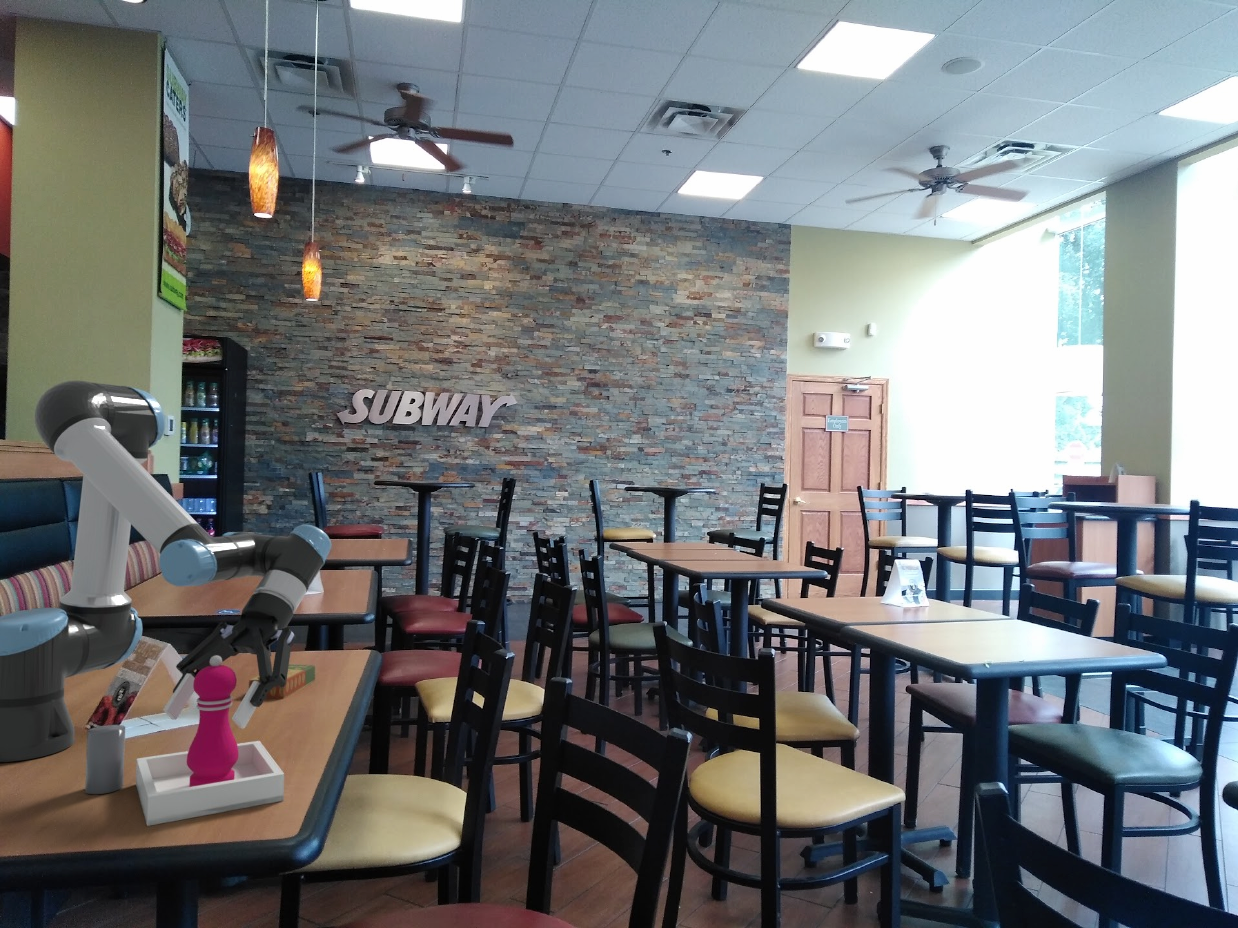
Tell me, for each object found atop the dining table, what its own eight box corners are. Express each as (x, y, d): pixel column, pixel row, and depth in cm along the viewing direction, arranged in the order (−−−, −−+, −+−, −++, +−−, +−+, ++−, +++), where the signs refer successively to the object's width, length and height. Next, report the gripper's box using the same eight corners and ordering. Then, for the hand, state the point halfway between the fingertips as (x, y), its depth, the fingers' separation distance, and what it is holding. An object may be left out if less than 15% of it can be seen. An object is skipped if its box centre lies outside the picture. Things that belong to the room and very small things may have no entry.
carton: (247, 698, 183) (247, 678, 183) (281, 680, 199) (281, 662, 199) (284, 700, 182) (285, 680, 182) (315, 682, 198) (316, 663, 198)
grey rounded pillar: (82, 795, 127) (84, 735, 127) (88, 785, 131) (90, 726, 131) (120, 791, 129) (123, 731, 129) (125, 781, 133) (127, 723, 133)
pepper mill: (223, 795, 126) (227, 661, 127) (176, 793, 127) (180, 659, 127) (246, 777, 134) (250, 651, 134) (201, 776, 134) (205, 649, 134)
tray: (147, 825, 117) (148, 796, 117) (135, 784, 132) (136, 758, 132) (283, 800, 127) (284, 773, 127) (258, 764, 142) (259, 740, 142)
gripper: (344, 622, 142) (281, 740, 127) (225, 612, 149) (152, 723, 134) (326, 594, 137) (259, 714, 122) (203, 585, 144) (125, 698, 129)
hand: (203, 719), depth 128 cm, fingers open, 12 cm apart
